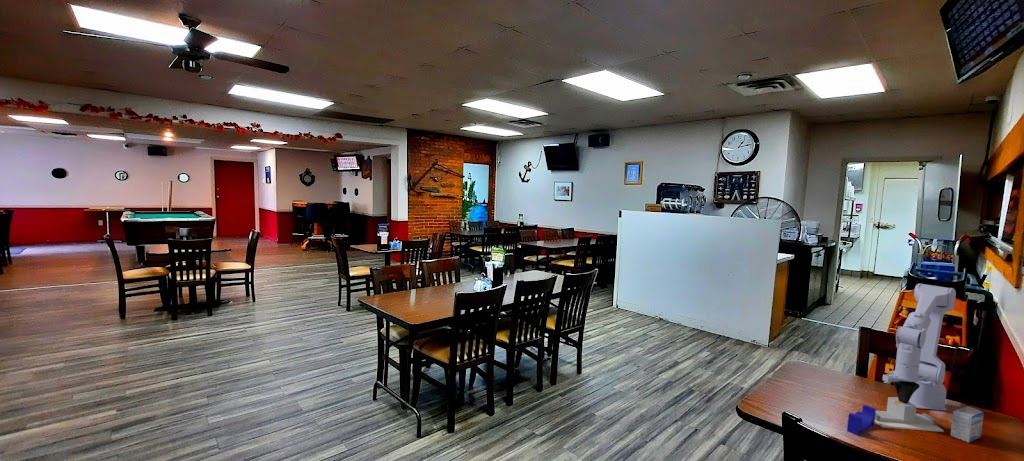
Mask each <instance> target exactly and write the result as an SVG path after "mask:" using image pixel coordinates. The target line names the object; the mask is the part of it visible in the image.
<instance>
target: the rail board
mask: <svg viewBox="0 0 1024 461" xmlns="http://www.w3.org/2000/svg"><path fill="white" fill-rule="evenodd" d="M874 423H876V424H877V425H879V427H881V428H885V429H886V428H888V429H901V430H912V431H913V430H915V431H927V432H928V431H929V432H939V433H940V432H941V433H944V432H945V431H944V429H942V428H941V427H940V426H938V425H937V419H935V418H934V417H933V416H931V415H929V414H927V413H925V412H922V414H921V413H916V415H915V420H910V421H903V420H901V419H900V418H898V417H896V416H894V415H893V414H891V413H889V412H887V410H886V411H884V410H883V411H882V410H876V413H875V422H874Z"/></svg>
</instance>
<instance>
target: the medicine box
mask: <svg viewBox="0 0 1024 461" xmlns="http://www.w3.org/2000/svg"><path fill="white" fill-rule="evenodd" d="M984 415H985V414H984V411H982V410H979V409H977V408H973V407H969V406H966V405H965V406H963V407H960V408H957V409H956V410H952V419H951V426H950V427H951V428H950V436H951V437H952V438H955V439H958V440H960V439H961V441H963V442H965V441H966V443H968V444H970V443H972V442H973V441H976V440H977V439H980V438H981V437H982V430H983V424H984V423H983V420H984ZM971 441H972V442H971ZM969 442H970V443H969Z"/></svg>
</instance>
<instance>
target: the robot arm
mask: <svg viewBox="0 0 1024 461" xmlns="http://www.w3.org/2000/svg"><path fill="white" fill-rule="evenodd" d="M913 291H914V292H913V297H914V299H915V301H916V303H917V305H916V307H915V311H912V312H910V313H909V314H908V315H907V318H906V320H905V321H904V323H903V326H898V327H897V330H896V333H895V342H896V344H895V347H896V348H897V349H896V350H897V351H896V359H895V368H894V370H892V372H890V373H887V374H883V375H882V381H884V382H886V383H889V384H890V383H892V384H893V386H894V388H895V391H896V393H897V394H896V395H897V397H898V399H899V401H901V402H903V403H908V402H910V403H911V404H913V405H915V406H916V409H922V410H923V409H925V410H937V411H947V408H945V406H946V398H947V389H946V387H945V385H944V384H943V382H944V381H945V377H946V364H945V362H944V361H942V360H941V359H940V358H939V357H938V356H937V351H938V347H939V342H940V341H939V340H940V336H941V330H942V324H943V319H944V316H945V314H946V312H952V311H953V309H954V306H955V302H956V295H957V292H956V289H955V288H954V287H946V286H945V287H944V286H939V285H933V284H932V285H931V284H924V283H917V284H916V285H915V287H914V290H913Z"/></svg>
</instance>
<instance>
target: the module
mask: <svg viewBox="0 0 1024 461" xmlns="http://www.w3.org/2000/svg"><path fill="white" fill-rule="evenodd" d="M886 412H889V413H891V414H893V415H894V416H896V417H898V418H900V419H901V420H903V421H910V420H915V415H916V414H917V408H916V406H915V405H913V404H911V403H910V402H908V403H903V402H901V401H899V399H898V396H893V397H892V396H889V397H887V404H886Z"/></svg>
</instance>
